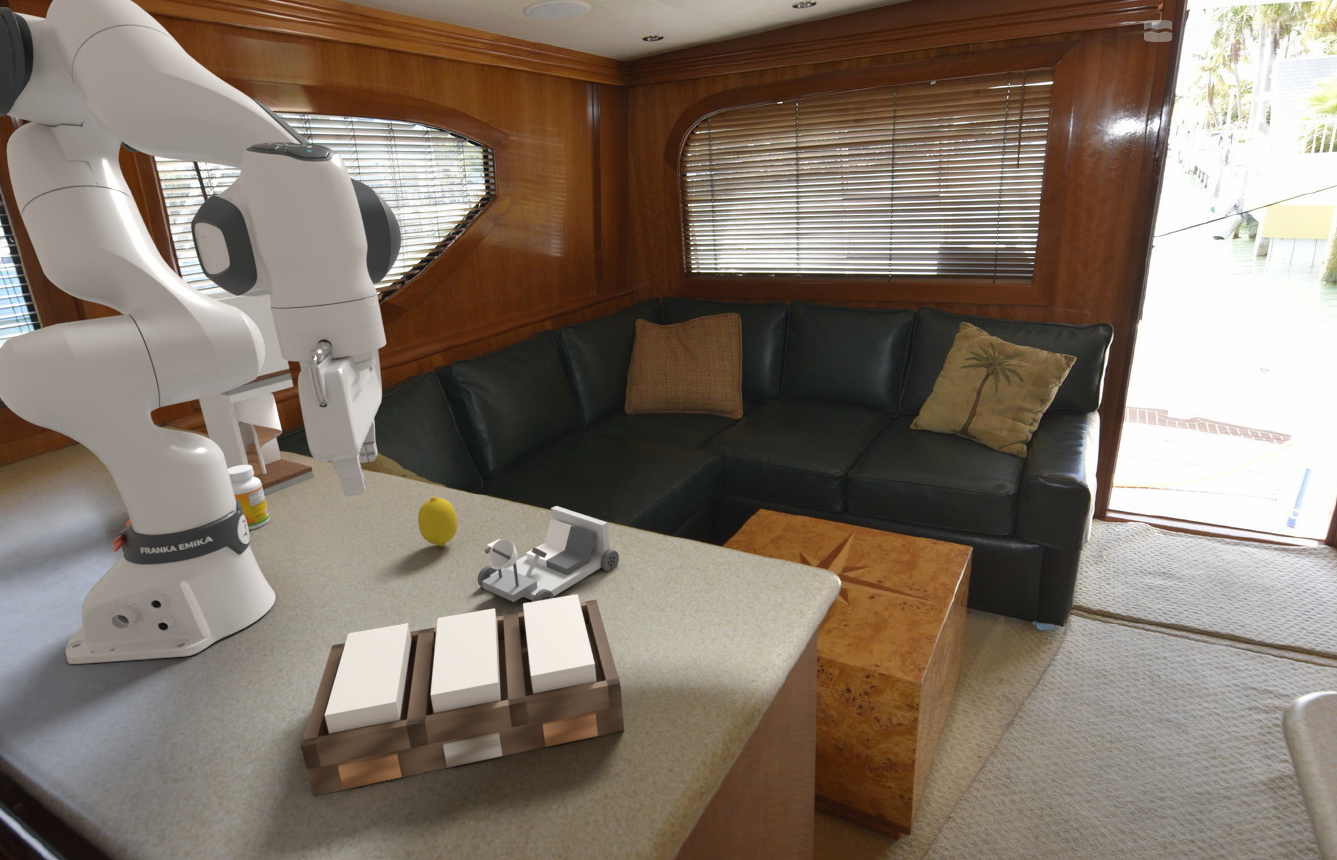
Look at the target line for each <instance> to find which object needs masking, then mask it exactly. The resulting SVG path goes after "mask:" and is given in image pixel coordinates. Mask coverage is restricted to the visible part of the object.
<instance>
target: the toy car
mask: <svg viewBox="0 0 1337 860" xmlns="http://www.w3.org/2000/svg"><path fill="white" fill-rule="evenodd" d="M550 510H551V511H550V512H551V518H550V521H549V524H548V525H549V526H548V528H547V533H546V537H545V540H544V542H543V543H541V544H540V545H538V546H536V547H533V548H532V549H530V550H528V551H527V552H525V554H526V555H523V556H522V557H520V558H518V552H517V549H516V547H515V543H514V542H513V541H512V540H511V539H510V538H507V537H506V538H499V539H496V540H494V541H493V542H490V543H487V545H486V549H484V552H485V554H486V555H488V556H487V562H488V565H486V566H484V567H483V568H481V570H480V571H479V572H478V575H477V583H478V585H479V587H481V588H483V589H485V590H486V591H488V592H490V593H493V594H494V595H498V596H500V597H502V598H504V599H506V600H507V601H511V602H512V603H515V602H516V601H518V600H520V599H521V598H526V599H528V600H531V602H535V601H541V600H547V599H552V598H555V596H557V595H558V594H560V593H562V592H563V591H565V590H567V589H569V588H570V587H571V586H573V585H575V584H577V583H579V582H580V581H581V580H584V579H585V578H586V577H588V576H589V575H591V574H593V573H594V572H596V571H598V570H600V569H602V570H603V571H605V572H610V571H611V570H612V569H613V568H615V567H618V564H619V562H620V555H619V553H618V551H617V550H614V549H612V548H610V538H609V527H608V526H609V525H608V522H606V521H604V520H601V519H599V518H595V517H592V516H589V515H585V514H582V513H579V512H577V511H572V510H570V509H567V508H564V507H561V506H558V505H556V506H552V507H551V508H550Z"/></svg>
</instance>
